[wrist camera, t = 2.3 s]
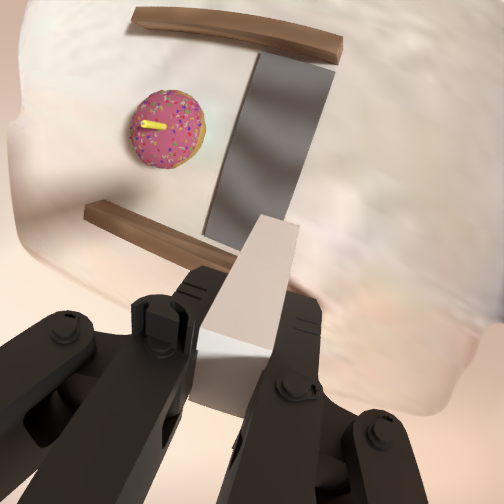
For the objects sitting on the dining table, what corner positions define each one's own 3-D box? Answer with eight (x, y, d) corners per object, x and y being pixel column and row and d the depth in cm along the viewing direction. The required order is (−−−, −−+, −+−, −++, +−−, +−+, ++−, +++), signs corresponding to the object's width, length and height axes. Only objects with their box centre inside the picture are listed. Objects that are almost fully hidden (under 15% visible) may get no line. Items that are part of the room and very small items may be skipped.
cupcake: (218, 89, 32) (161, 67, 21) (223, 163, 34) (168, 170, 24) (153, 102, 34) (84, 93, 23) (157, 169, 37) (90, 181, 26)
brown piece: (153, 16, 31) (136, 6, 27) (343, 49, 27) (342, 36, 23) (102, 213, 41) (83, 219, 38) (260, 282, 38) (250, 297, 34)
